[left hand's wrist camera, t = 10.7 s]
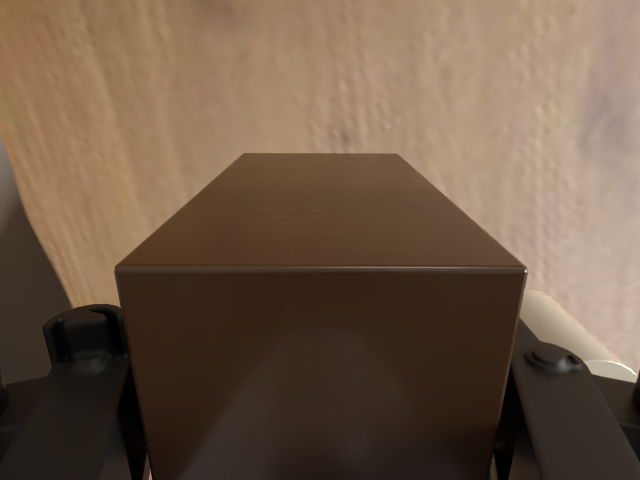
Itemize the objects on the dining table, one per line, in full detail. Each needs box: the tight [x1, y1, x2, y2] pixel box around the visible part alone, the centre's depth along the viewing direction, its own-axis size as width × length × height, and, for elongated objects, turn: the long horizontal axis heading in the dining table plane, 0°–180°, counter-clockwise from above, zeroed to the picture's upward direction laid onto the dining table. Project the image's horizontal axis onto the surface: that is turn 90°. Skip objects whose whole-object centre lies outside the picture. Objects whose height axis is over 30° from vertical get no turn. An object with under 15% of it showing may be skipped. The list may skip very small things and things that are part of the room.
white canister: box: [519, 289, 638, 383], centre depth 26 cm, size 6×6×8 cm
